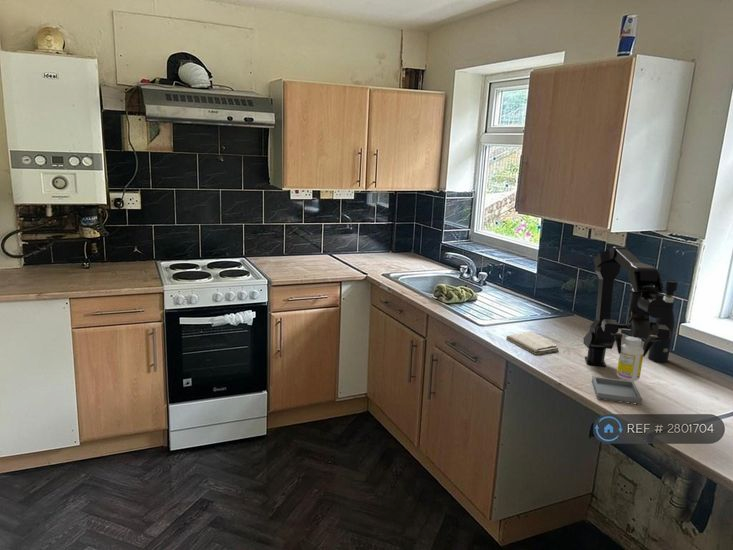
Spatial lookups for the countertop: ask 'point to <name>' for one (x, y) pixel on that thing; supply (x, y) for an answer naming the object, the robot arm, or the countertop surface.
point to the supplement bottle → (630, 359)
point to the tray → (616, 390)
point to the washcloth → (533, 343)
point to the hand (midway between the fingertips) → (631, 354)
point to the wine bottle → (662, 348)
